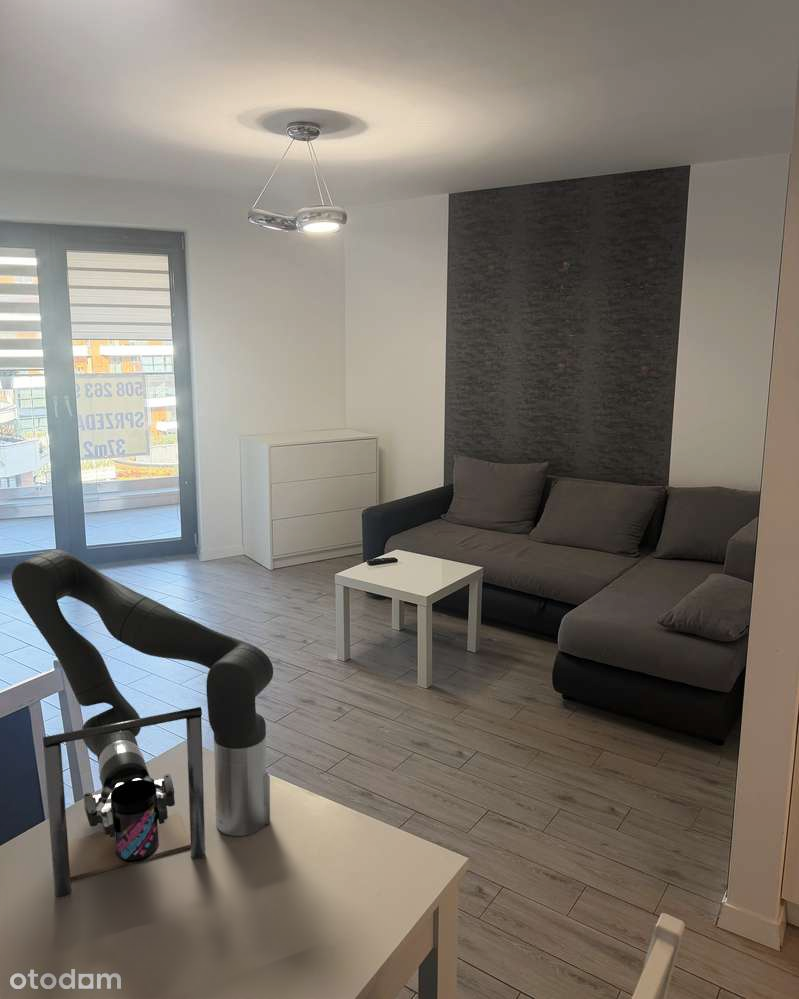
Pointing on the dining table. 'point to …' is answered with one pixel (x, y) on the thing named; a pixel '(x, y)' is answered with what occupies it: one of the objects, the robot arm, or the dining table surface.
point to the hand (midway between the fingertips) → (137, 824)
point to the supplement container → (135, 820)
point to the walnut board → (100, 848)
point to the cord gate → (54, 741)
